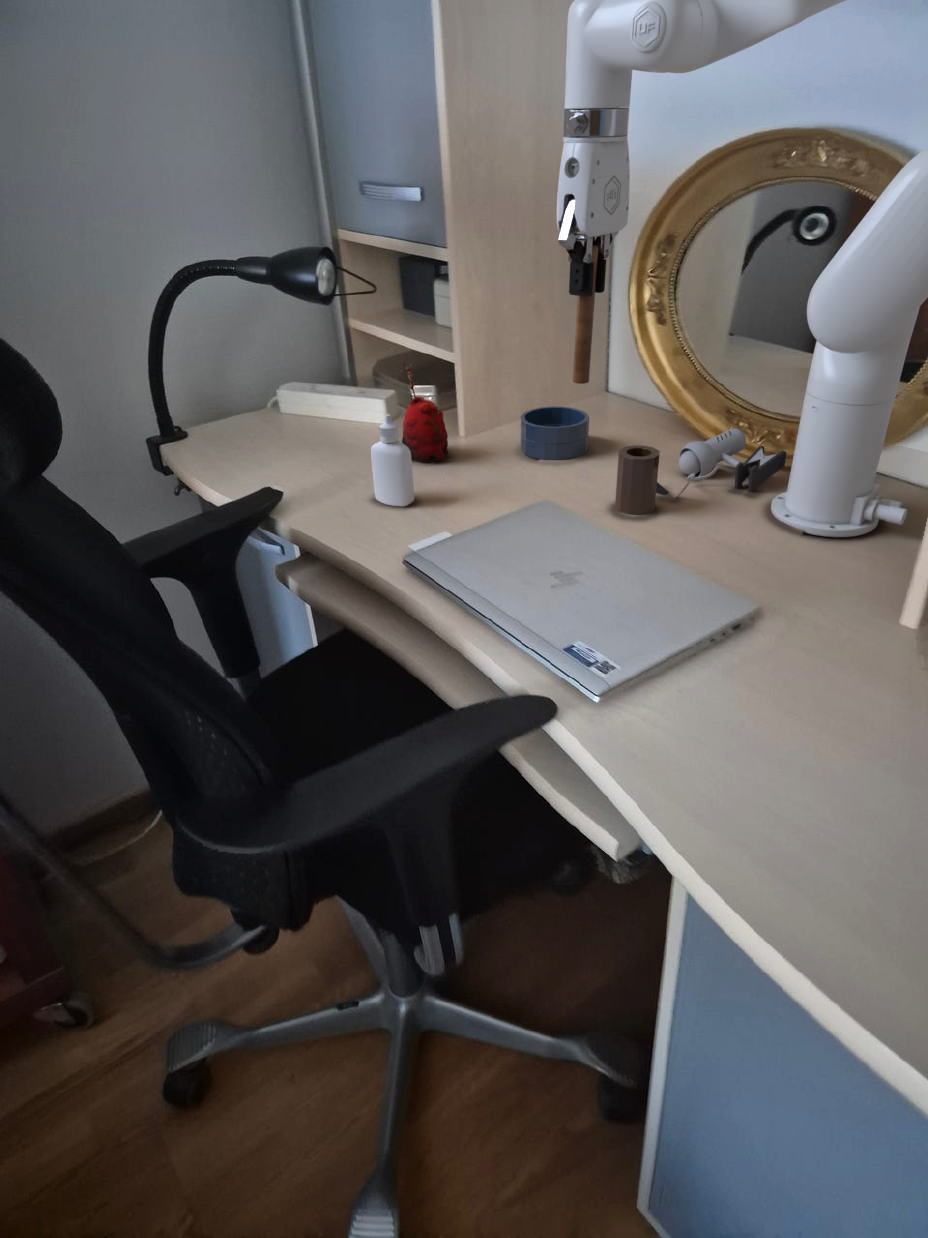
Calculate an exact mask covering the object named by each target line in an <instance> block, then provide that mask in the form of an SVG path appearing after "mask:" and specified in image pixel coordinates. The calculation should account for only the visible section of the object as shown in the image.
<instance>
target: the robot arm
mask: <svg viewBox="0 0 928 1238" xmlns="http://www.w3.org/2000/svg"><path fill="white" fill-rule="evenodd" d="M843 2H846V0H573V1H572V2H571V4H570V6H569V8H568V13H567V27H566V28H567V29H566V50H565V51H566V52H565V53H566V54H565V55H566V56H565V81H564V106H563V107H564V109H563V131H562V132H563V134H562V136H563V137H562V142H563V145H562V152H561V158H560V166H559V173H558V185H557V196H556V226H557V227H556V228H557V231H558V232H559V235H558V245H559V246H561V247H562V248H563V249H565V250H566V252H567V261H568V262H569V278H568V279H569V280H568V283H569V284H568V294H569V295H570V296H576V297H578V296H584V297H589V296H591V295H592V291H593V274H594V263H592V262H591V258H592V245H595V246H598V259H597V273H596V287H595V294H596V293H597V294H602V293H604V292H605V288H606V273H607V259H608V258H609V256H610V248H611V247H610V246H611V244H612V242H613V240H614V239H615V238H616V236H617V235H618V234H619V232H620V231H622V230H624V228H625V227H626V226H627V224H628V221H629V210H630V209H629V207H630V206H629V205H630V180H631V179H630V176H631V175H630V173H631V172H630V171H631V170H630V150H629V140H628V138H629V137H628V135H629V123H630V122H629V121H630V120H629V119H630V106H631V94H632V82H633V81H632V80H633V71H639V72H646V73H657V74H666V73H670V74H686V73H690V72H693V71H697V70H699V69H702V68H704V67H707V66H709V65H712V64H714V63H717V62H719V61H721V60H723V59H725V58H728V57H730V56H732V55H735V54H737V53H739V52H742V51H744V50H746V49H748V48H750V47H752V46H755V45H756V44H759V43H761V42H763V41H765V40H768V39H769V38H771V37H773V36H775V35H777V34H778V33H780V32H783V31H785V30H787V29H789V28H792V27H794V26H796V25H798V24H800V23H801V22H803V21H805V20H806V19H808V18H810V17H812V16H814V15H816V14H818V13H821V12H822V11H825V10H827V9H829V8H832V7H835V6H837V5H838V4H841V3H843ZM581 232H582V233H581ZM582 241H583V243H582ZM807 299H808V300H807V304H806V319H807V325H808V328H809V330H810V332H811V334H812V336H813V337H814V339H815V340H816V341H815V346H814V350H813V355H812V358H811V363H810V368H809V373H808V378H807V384H806V388H805V392H804V398H803V403H802V409H801V414H800V419H799V424H798V431H797V435H796V441H795V446H794V450H793V457H792V462H791V467H790V472H789V478H788V484H787V489H786V491H785V492H782V493H780V494H778V495H775V497H774V498H773V499H772V500H771V504H770V512H771V514H772V515H773V516H774V517H775V518H776V519H777V520H778V521H780V522H782V523H783V524H785V525H788V526H790V527H792V528H795V529H798V530H802V533H804V534H808V535H812V536H818V537H827V538H851V537H857V536H863V535H866V534H868V533H870V532H872V531H873V530H875V529H876V528H877V526H878V525H879V521H880V520H881V521H885V522H887V523H891V524H895V525H898V526H902V525H903V524H904V522H905V520H906V518H907V515H908V514H907V513H908V509H907V508H902V506H903V505H902V504H903V502H902V501H899V500H894V499H887V498H883V496H882V495H881V494H879V491H880V487H881V484H879V483H875V481H876V480H875V479H876V476H877V472H878V467H879V464H880V460H881V456H882V451H883V448H884V443H885V439H886V435H887V431H888V427H889V423H890V420H891V415H892V411H893V407H894V402H895V399H896V396H897V393H898V392H897V391H898V388H899V384H900V381H901V376H902V372H903V370H904V369H903V368H904V366H905V365H904V364H905V361H906V357H907V353H908V350H909V346H910V343H911V339H912V335H913V332H914V328H915V325H916V322H917V318H918V315H919V311H920V308H921V305H923V303H924V302H925V301H926V300H927V299H928V147H927V148H926V149H924V150H922V151H921V152H919V153H918V154H916V155H915V156H913V157H912V158H911V159H910V160H909V161H908V162H907V163H906V164H905V165H904V166H903V167H902V168H901V169H900V170H899V172H898V173H897V174H896V175H895V176H894V177H893V179H892V180H891V182H890V183H888V185H887V186H886V188H885V189H884V190H883V192H881V194H880V196H879V197H878V198H877V199H876V201H875V202H874V203H873V205H872V206H871V207H870V209H869V210H868V212H866V214H865V215H864V216H863V218H862V219H861V221H860V222H859V223H858V224H857V226H856V227H855V228H854V229H853V231H852V232H851V233H850V235H849V236H848V237H847V239H846V240H845V241H844V243H843V244H842V246H841V247H840V248H839V250H838V251H837V252H836V254H834V256H833V258H831V260H830V261H829V263H828V264H827V265H826V266H825V268H824V269H823V270H822V271H821V273H820V274H819V276H818V277H817V279H816V280H815V282H814V284H813V285H812V288H811V290H810V292H809V295H808V298H807Z"/></svg>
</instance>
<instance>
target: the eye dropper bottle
mask: <svg viewBox="0 0 928 1238" xmlns="http://www.w3.org/2000/svg"><path fill="white" fill-rule="evenodd" d="M378 429H379V440H380V441H377V442H374V444H373V445H372V446H371V447H370V458H371V469H372V477H373V478H372V479H373V489H374V490H373V491H374V497H375V500H377V501H378V502H380V503H382V504H384V505H387V506H393V507H406V506H409V505H411V504H412V503H414V501H415V488H414V487H415V486H414V475H413V474H414V473H413V462H412V461H413V459H411V452H410V450H409V448H408V447H407V446H406V445H405V444H403V443H402V441H400V437H399V425H398V424H397V423H395V422H393V419H392V416H391V414H389V413H387V414H384V420H383V423H381V424H379V426H378Z"/></svg>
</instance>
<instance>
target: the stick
mask: <svg viewBox="0 0 928 1238" xmlns="http://www.w3.org/2000/svg"><path fill="white" fill-rule="evenodd" d="M597 259H598V246H595V245H592V258H591V262H592V263H594V274H593V291H592V295H591V296H589V297H584V296H577V302H576V303H577V305H576V318H575V320H576V321H575V338H574V352H573V353H574V355H573V372H572V382H573V383H574V384H579V385H585V384H588V383H589V382H590V374H591V372H590V371H591V360H592V345H593V344H592V343H593V331H594V330H593V329H594V314H595V302H596V301H595V299H596V293H595V287H596V273H597Z"/></svg>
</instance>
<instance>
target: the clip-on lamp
mask: <svg viewBox="0 0 928 1238" xmlns="http://www.w3.org/2000/svg"><path fill="white" fill-rule="evenodd" d="M746 445H747V437H746V435H745V433H744V432H743V431H742V430H740V429H738V428H735V427H733V428H730V429H727V430H726V431H724V432H721V433H720V434H718V435H715V436H713V437H711V438H709V439H707V440H705V441H703V440H702V441H701V440H694V441H690V442H689V443H687V444H685V445H684V446H683V447H682V448H681V450H680V451H679V456H678V457H679V459H678V466H679V469H680V470H681V472H683V474H686V475H688V476H687V477H686V481H688V482H687V483H686V484H685V486H684V487H683V488H682V490H681V491H680V492H679V493H678V494H676V495H675V496H673V498H678V497H679V496H681V494H683V493H684V491H686V489H687V487H688V486H689V485H690V484H691V483H692V482H693V481H695V482H696V481H701V480H705V479H708V478H710V477H712V476H714V474H715V473H716V472H717V471H718V470H722V471H725V472H727V473H731V474H735V475H734V489H736V490H739V489H740V488H742V487H743V484H744V482H745V481H746V480H747V479H748V489H747V492H748V493H753V492H755V491H757V490H758V489H757V487H758V486H760V485H761V484H762V483H764V482H765V481H766V480H768V479H769V478H771V477H772V476H774V475H775V474H777V473H778V472H779V471H781V470H782V469H783V468H784V467H785V465H786V460H787V451H785V450H780V451H779V452H778V453H776V454H769V455H766V454H765V446H763V445H759V446H758V447H757V448H756V449H755V450H754V451H753V452H752V453H751V455H749V456H748V458H747V459H746V460H745V461H744V462H741V461H740V460H737V459H736V458H734V457H733V456H734V455H736V454H737V453H740V452H742V451H743V450H744V449H745V447H746ZM721 462H725V463H727V464H728V465H730V466H732V467H734V468H735V469H733V468H729V467H727V466H725V465H722V464H721V465H720V464H719V463H721ZM717 464H718V465H717ZM698 473H699V474H698ZM696 474H698V476H696ZM656 494H658V495H661V496H667V495H668V494H669V490H667V489H666V488H665V487H664V486H663V485H661V484H660V483H659V482H658V481H657V487H656Z"/></svg>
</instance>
